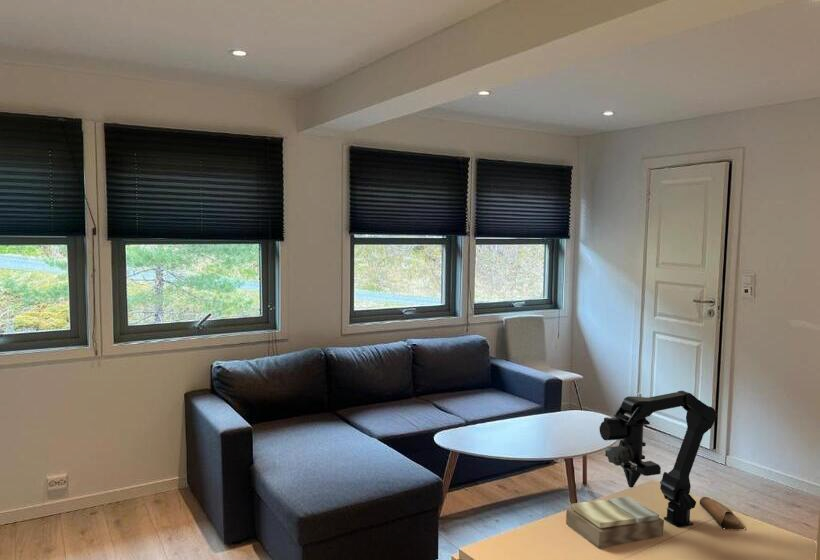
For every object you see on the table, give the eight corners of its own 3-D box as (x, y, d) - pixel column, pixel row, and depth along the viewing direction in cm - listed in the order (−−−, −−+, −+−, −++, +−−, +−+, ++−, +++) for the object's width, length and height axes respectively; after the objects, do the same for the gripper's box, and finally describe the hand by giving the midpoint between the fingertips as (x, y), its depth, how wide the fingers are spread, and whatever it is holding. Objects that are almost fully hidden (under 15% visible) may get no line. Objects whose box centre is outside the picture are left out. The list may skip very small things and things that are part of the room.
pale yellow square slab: (604, 504, 192) (605, 499, 192) (635, 523, 179) (635, 518, 179) (571, 508, 187) (571, 503, 187) (600, 528, 174) (600, 523, 174)
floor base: (626, 514, 197) (627, 494, 196) (663, 536, 182) (664, 515, 181) (565, 524, 188) (566, 504, 188) (598, 548, 173) (599, 527, 173)
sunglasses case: (749, 530, 187) (738, 512, 187) (728, 540, 187) (718, 521, 187) (724, 506, 205) (714, 489, 205) (705, 515, 205) (696, 498, 205)
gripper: (592, 431, 191) (590, 479, 192) (633, 450, 174) (631, 502, 175) (620, 428, 195) (618, 475, 196) (663, 446, 178) (660, 497, 179)
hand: (630, 487), depth 186 cm, fingers closed
